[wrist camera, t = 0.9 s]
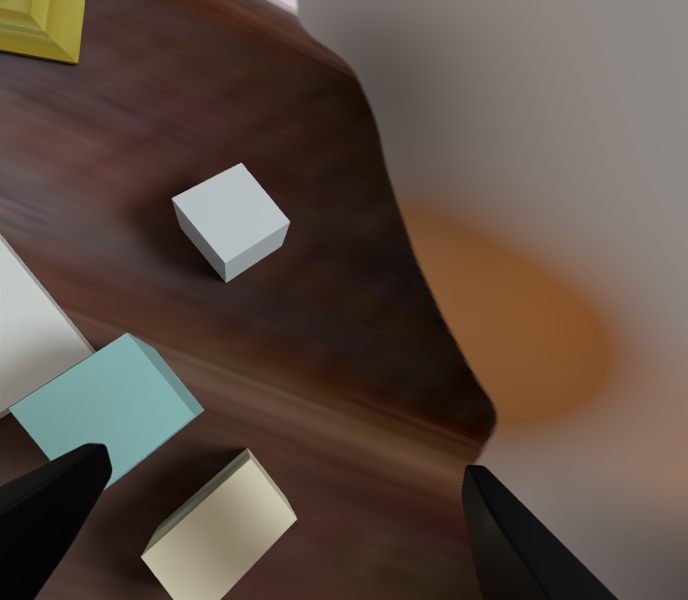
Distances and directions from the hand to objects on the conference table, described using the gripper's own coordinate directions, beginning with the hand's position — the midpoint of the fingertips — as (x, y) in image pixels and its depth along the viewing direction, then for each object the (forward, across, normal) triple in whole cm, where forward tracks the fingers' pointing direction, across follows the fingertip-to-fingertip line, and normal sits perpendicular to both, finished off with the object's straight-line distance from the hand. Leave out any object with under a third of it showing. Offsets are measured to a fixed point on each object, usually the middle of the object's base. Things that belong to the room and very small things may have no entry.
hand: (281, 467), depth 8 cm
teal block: (+10, +11, +6) cm, 16 cm away
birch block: (+8, +6, +12) cm, 16 cm away
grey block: (+18, +8, -3) cm, 20 cm away
